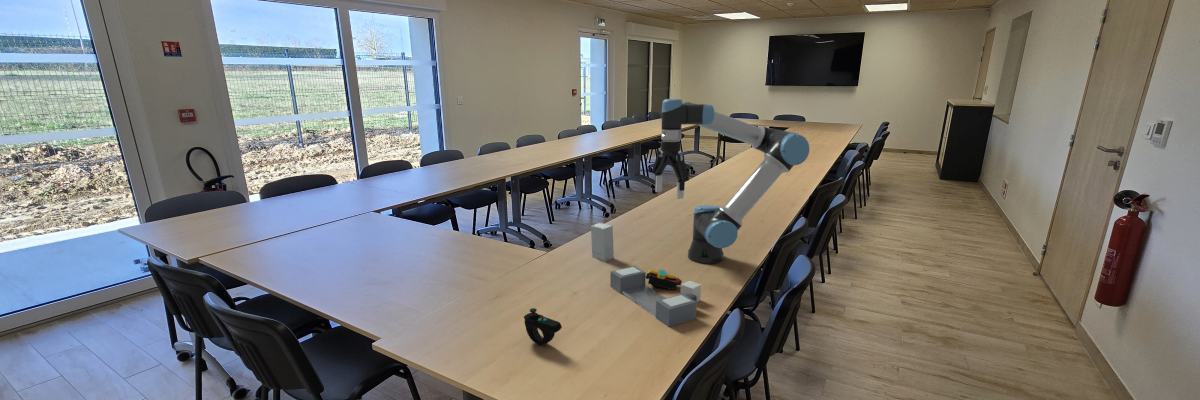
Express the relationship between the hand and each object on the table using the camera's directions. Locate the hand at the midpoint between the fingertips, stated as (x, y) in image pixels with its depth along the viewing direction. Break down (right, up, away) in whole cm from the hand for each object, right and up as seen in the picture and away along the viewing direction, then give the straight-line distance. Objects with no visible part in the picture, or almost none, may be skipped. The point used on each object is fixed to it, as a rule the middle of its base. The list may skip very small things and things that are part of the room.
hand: (669, 195), depth 196 cm
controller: (-44, -44, -48) cm, 78 cm away
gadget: (-1, -36, -8) cm, 37 cm away
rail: (-9, -37, -20) cm, 43 cm away
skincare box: (-26, -27, +22) cm, 44 cm away
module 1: (-16, -34, -8) cm, 39 cm away
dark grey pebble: (+4, -39, -26) cm, 47 cm away
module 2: (-2, -40, -32) cm, 52 cm away
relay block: (+5, -37, -19) cm, 42 cm away
